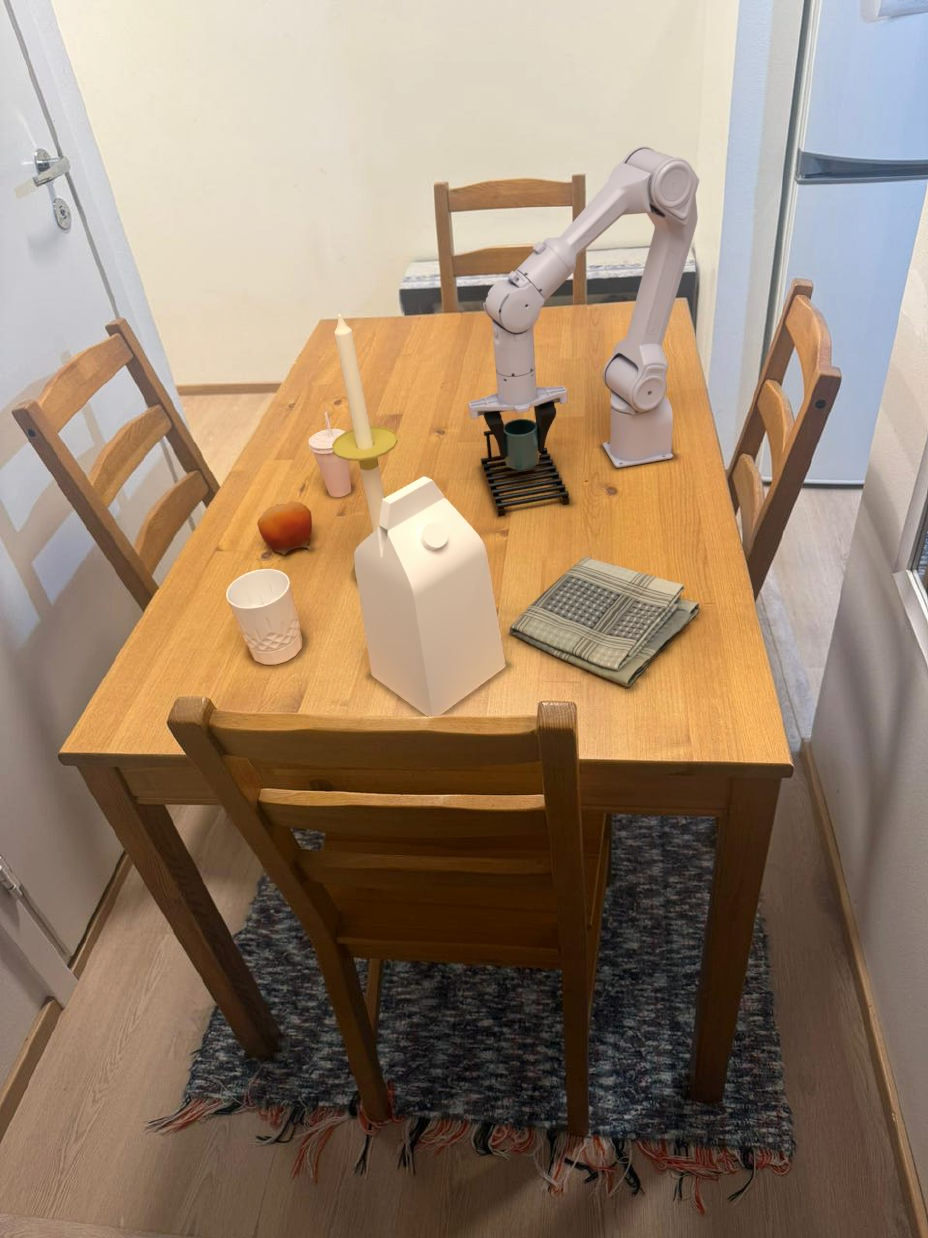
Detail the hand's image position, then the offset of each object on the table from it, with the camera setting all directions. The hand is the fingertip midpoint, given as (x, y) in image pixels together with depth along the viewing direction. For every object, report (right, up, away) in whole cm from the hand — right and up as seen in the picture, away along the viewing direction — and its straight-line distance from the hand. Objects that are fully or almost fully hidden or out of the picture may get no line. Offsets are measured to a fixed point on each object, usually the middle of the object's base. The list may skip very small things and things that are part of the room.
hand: (521, 451), depth 135 cm
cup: (0, -1, +1) cm, 2 cm away
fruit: (-35, -14, -2) cm, 38 cm away
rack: (+1, -5, +4) cm, 6 cm away
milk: (-12, -32, -27) cm, 44 cm away
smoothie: (-29, -5, +8) cm, 31 cm away
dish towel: (+9, -26, -24) cm, 37 cm away
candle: (-19, -19, -10) cm, 29 cm away
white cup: (-33, -30, -21) cm, 49 cm away
